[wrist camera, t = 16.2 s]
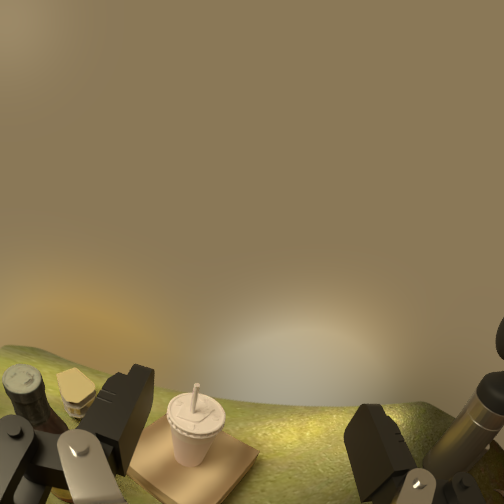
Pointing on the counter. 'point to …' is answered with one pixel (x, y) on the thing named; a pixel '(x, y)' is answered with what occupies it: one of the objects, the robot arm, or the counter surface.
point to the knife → (499, 491)
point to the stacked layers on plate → (76, 392)
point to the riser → (188, 478)
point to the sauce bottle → (34, 406)
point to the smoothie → (194, 425)
